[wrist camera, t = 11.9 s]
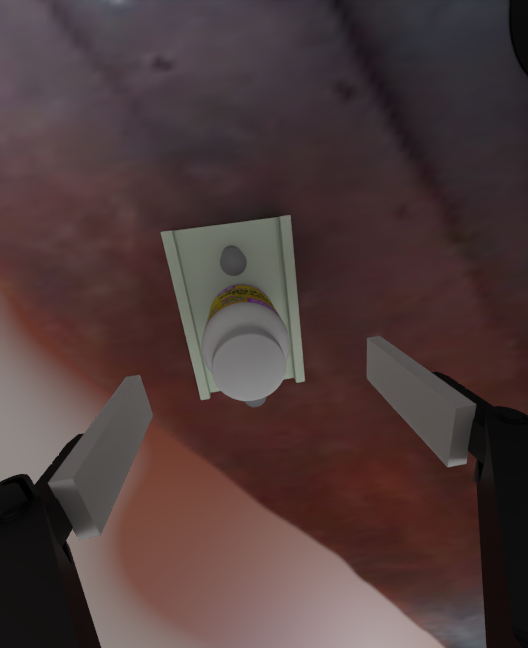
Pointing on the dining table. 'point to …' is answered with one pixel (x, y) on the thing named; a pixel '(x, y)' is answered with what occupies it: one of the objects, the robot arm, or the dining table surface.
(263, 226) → the tray
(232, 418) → the dining table surface
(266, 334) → the supplement bottle
